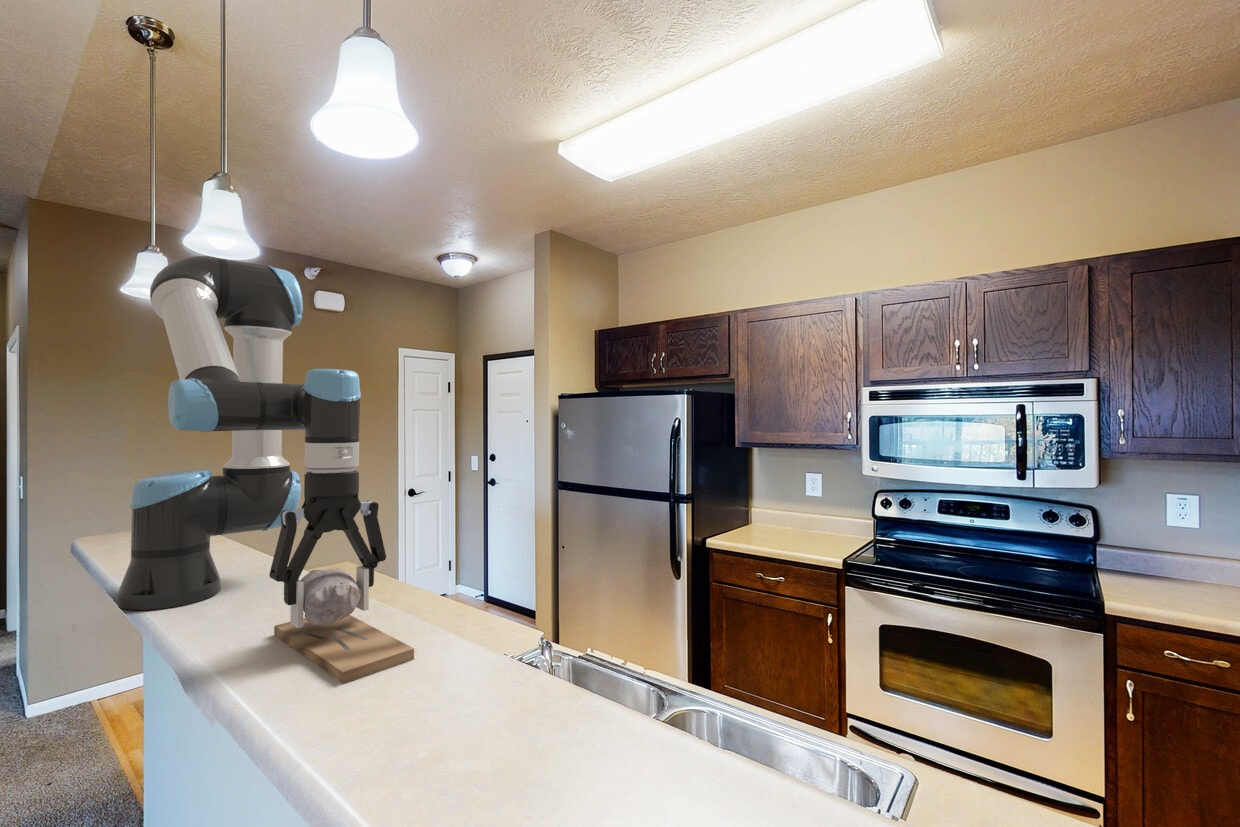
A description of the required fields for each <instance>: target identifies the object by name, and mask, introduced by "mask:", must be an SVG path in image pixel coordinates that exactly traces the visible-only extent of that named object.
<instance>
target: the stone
mask: <svg viewBox="0 0 1240 827" xmlns="http://www.w3.org/2000/svg"><path fill="white" fill-rule="evenodd" d="M300 581H302V582H304V597H303V613H304V617H305V618H306V620H307V622H308V623H309V624H310V625H313V626H324V625H329V624H332V623H334V622H337V621H339V620H341V619H343V618H345V617H347V616H349V615H351V614H353V612H354V611H355V609H357V607H356V606H357V605H358V603H359V600H360V595H361V591H360V589H359V588H358V585H357V583H356V580H355V579H354V576H353V575H352V574H351V573H349V572H347V571H346V570H344V569H340V568H334V569H333V568H328V569H313V570H311V571H309V572H308V573H307V574H305V575H304V576H303V577H302V578H301V579H300Z"/></svg>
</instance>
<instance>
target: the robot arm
mask: <svg viewBox="0 0 1240 827" xmlns="http://www.w3.org/2000/svg"><path fill="white" fill-rule="evenodd" d="M149 298H150V301H151V306H152V308H153V311H154V312H155V314H156V316H158V317H159V318H160V319H161V320H163V323H164V327H165V331H166V335H167V338H168V341H169V345H170V349H171V352H172V356H173V360H174V364H175V367H176V370H177V375H178V378H179V379H175V380H173V381H172V382H171V383H170V386H169V390H168V396H167V410H168V420H169V423H170V425H171V426H172V428H174V429H176V430H179V431H191V432H192V431H193V432H195V431H197V432H202V433H210V432H231V431H232V437H231V440H232V441H231V445H232V446H231V457H230V459H229V460H227V461H226V462H225V463H224V464H222V475H213V473H212V472H211V470H210V469H208V468H196V469H185V470H179V471H178V470H177V471H171V472H166V473H165V472H164V473H160V474H155V475H150V476H147V477H144V478H142V479H140V480H138V481H136V482H135V484H133V487H132V492H131V503H130V504H129V507H130V509H131V529H130V530H131V533H130V534H131V539H130V562H129V565H128V567H127V569H126V571H125V573H124V577H123V579H122V581H121V584H120V587H119V589H118V591H117V602H116V603H117V607H118V608H120V609H124V610H129V611H131V610H133V611H147V610H159V609H169V608H174V607H175V608H176V607H180V606H185V605H189V604H193V603H197V602H200V601H204V600H206V599H209V598H212V597H214V596H215V595H217V594H219V593H220V591H221V577H220V574H219V572H218V568H217V567H216V564H215V561H214V559H213V556H212V554H211V537H214V536H225V535H229V534H238V533H246V532H253V531H254V532H255V531H263V532H264V531H268V530H271V529H277V528H280V532H279V536H278V540H277V543H276V546H275V550H274V554H273V558H272V561H271V562H272V563H271V566H270V571H269V574H268V575H269V578H270V579H272V580H274V581H276V582H277V583H280V582H282V583H283V601H284V604H286V605H288V606H290V618H289V619H290V621H289V622H290V624H292V625H293V626H295V627H297V628H300V627H303V618H304V611H303V597H304V582H302V581H300V580H301V579H300V580H299V578H300V577H301V575H302V572H303V571H304V569H305V567H306V565H307V562H308V561H309V558H310V556H311V554H312V553H313V550H315V547H316V544H317V542H318V541H319V540H320V539H321V538H322V535H323V534H325V533H330V532H332V531H342V532H344V534H345V536H346V538H347V540H348V541H349V543H350V545H351V547H352V549H353V551H354V552H355V555H356V556H357V558H358V559H359V562H360V564H362V565H360V566H356V567H355V568H356V569H355V570H356V573H355V575H356V576H355V577H356V578H355V579H356V580H355V582H356V583H357V585H358V588H359V589H360V591H361V595H360V600H359V603H358V605H357V606H356V609H360V610H361V611H362V612H365V611H369V608H370V607H369V604H370V603H369V601H370V600H369V599H370V595H369V592H370V588H371V587H373V586H374V583H375V582H374V581H375V580H374V579H375V573H374V572H375V569H376V568H377V567H378V564H379V563H380V562H384V561H386V559H387V554H386V548H385V545H384V541H383V536H382V532H381V527H380V523H379V518H378V515H379V514H378V513H379V507H380V506H379V503H378V502H376V501H370V500H366V501H361V500H360V498H359V493H360V472H359V471H358V470H356V468H358V467H359V465H360V419H361V418H360V417H361V416H360V414H361V412H360V411H361V410H360V409H361V397H362V392H361V388H360V376H359V374H358V373H357V372H356V371H354V370H350V369H349V370H348V369H336V368H313V369H310V370H308V371H307V372H306V374H305V380H304V381H305V382H304V383H283V369H284V367H283V363H284V354H283V353H284V341H285V340H286V339H287V338H289V336H291V335H292V327H293V328H294V327H297V326H299V325H300V323H301V322H302V318H303V316H302V314H303V310H304V309H303V308H304V306H303V295H302V290H301V287H300V284H299V282H298V280H297V279H296V277H295V275H294V274H293V273H291V272H290V271H288V270H287V269H282V268H277V267H273V266H271V265H263V264H257V263H252V262H244V261H238V260H232V259H226V258H219V257H216V256H210V255H194V256H187V257H183V258H180V259H177V260H175V261H173V262H171V263H170V264H167V265H166V266H165V267H164V268H162V269H161V270H160V271H159V272H158V273H157V274H156V276H155V277H154V278H153V281H152V283H151V285H150V289H149ZM219 319H220V320H221V319H222V320H224V330H225V331H226V332H227V333H228V334H229V335H230V336H232V339H233V348H232V349H233V351H232V352H233V353H232V354H233V355H232V354H231V351H230V348H229V346H228V343H227V340H226V338H225V335H224V333H223V331H222V330H223V329H222V326H221V325H220V321H219ZM232 356H233V357H232ZM283 431H304V464H303V465H304V466H303V467H304V468H305V469H307V470H308V471H306V472H305V474H304V476H303V478H304V479H303V480H304V484H303V485H304V486H303V491H304V492H303V495H304V501H303V503H302V506H301V508H299V504H300V500H301V493H302V492H301V490H302V489H301V487H302V486H301V484H300V482H301V479H300V476H299V474H298V472H296V471H294V470H291V464H290V462H289V461H288V460H287V459H285V458H284V457H283V454H282V450H283V449H282V448H283V445H282V444H283ZM359 512H360V514H361V515H362V517H363V518H362V519H363V523H364V528H365V531H366V532H365V533H366V535H367V540H368V545H369V547H368V545H367V544H366V543H367V542H365V539H364V537H363V536H362V535H361V533H360V531H359V530H360V528H359V526H358V524H357V523H356V521H355V517H356V516H357V514H358V513H359ZM302 518H305V521H307V522H308V523H307V525H306V527H305V529H304V531H303V536H302V537H301V539H300V542H299V544H298V546H297V547H296V550H295V551H294V553H293V555H292V557H291V554H292V549H293V546H294V542H295V537H296V535H297V529H298V526H297V525H299V524H300V523H301V519H302ZM290 557H291V559H290Z"/></svg>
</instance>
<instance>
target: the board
mask: <svg viewBox="0 0 1240 827" xmlns="http://www.w3.org/2000/svg"><path fill="white" fill-rule="evenodd" d="M273 630H274V631H273V632H274V633H273V636H275V637H276V638H277V639H278V640H281V642H283V643H285V644H286V645H288V647H290V648H292V649H293V650H294V651H296V652H297V653H298V654H300V655H301V656H303V657H304V658H306V659H307V660H309V661H310V662H312V663H313V664H314V665H316V666H317V667H319V668H320V669H322V670H323V671H324V672H325V673H327V674H329V675H330V676H331V677H333V678H334V679H335V680H336V681H339V682H340V683H341V684H346V683H348V682H352V681H355V680H357V679H360V678H364V677H366V676H369V675H373V674H375V673H379V672H380V671H383V670H386V669H389V668H392V667H394V666H397V665H400V664H403V663H406V662H409V661H412V660H414V659H415V647H412V646H411V645H408V644H407V643H405V642H403V641H401V640H399V639H397V638H395V637H393V636H391V635H389V634H387V633H385V632H383V631H382V630H380V629H377V628H376V627H374V626H372V625H370V624H368V623H367V622H365V621H362V620H361V619H358V618H357V617H354V616H353V615H351V614H350V615H349V616H347V617H345V618H343V619H341V620H339V621H337V622H334V623H332V624H329V625H324V626H313V625H310V624H309V623H308V622H307V620H306V618H304V617H303V627H300V628H297V627H295V626H293V625H292V624H290V621H288V622H283V623H280V624H279V623H278V624H276V625H274V626H273Z"/></svg>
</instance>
